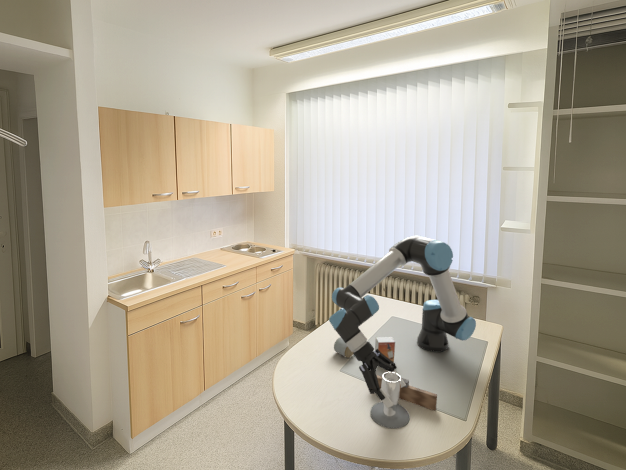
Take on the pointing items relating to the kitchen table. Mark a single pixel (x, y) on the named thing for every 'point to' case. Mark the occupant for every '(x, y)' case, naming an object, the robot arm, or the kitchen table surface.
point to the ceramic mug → (342, 348)
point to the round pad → (390, 423)
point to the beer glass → (391, 393)
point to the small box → (386, 346)
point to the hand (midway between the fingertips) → (397, 396)
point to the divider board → (416, 395)
